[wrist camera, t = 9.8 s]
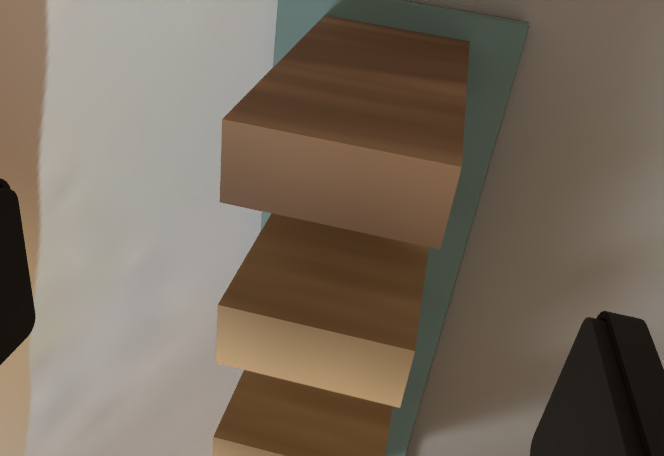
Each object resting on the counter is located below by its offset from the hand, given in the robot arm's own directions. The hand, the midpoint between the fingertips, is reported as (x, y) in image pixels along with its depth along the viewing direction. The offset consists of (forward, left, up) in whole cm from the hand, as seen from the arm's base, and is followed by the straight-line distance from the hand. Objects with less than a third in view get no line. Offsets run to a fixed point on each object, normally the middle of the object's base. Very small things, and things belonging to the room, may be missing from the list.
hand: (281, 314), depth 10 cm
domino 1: (0, 0, -14) cm, 14 cm away
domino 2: (-4, -2, -14) cm, 15 cm away
